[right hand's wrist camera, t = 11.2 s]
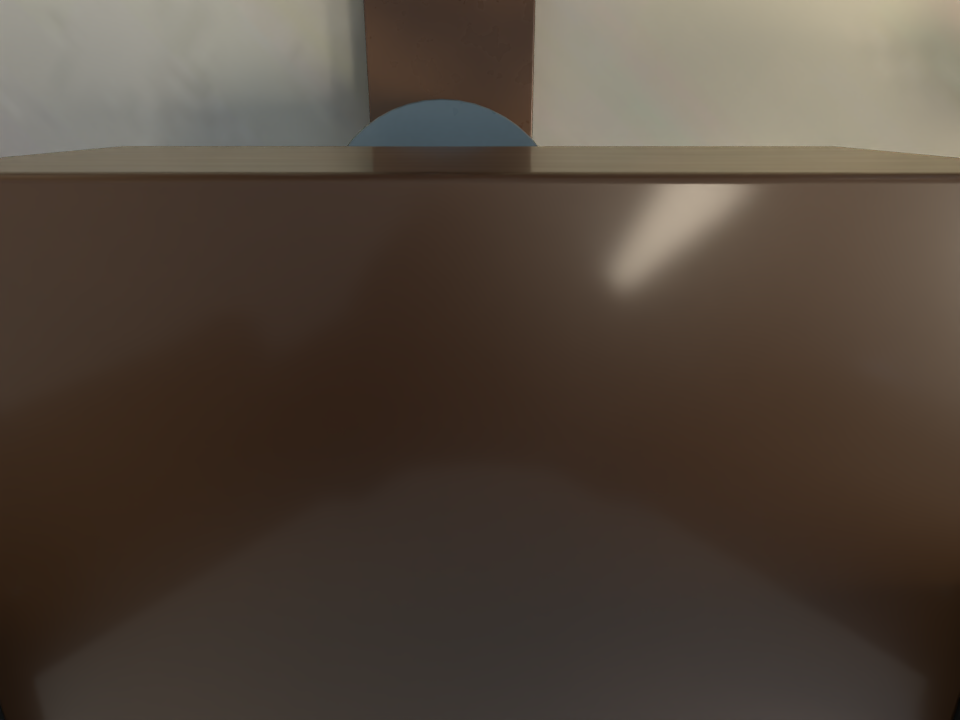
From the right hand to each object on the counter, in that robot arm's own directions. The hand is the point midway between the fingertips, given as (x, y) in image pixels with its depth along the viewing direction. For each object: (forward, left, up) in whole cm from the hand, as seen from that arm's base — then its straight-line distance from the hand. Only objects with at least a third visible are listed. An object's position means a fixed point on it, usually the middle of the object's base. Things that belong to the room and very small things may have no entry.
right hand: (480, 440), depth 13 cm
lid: (0, 0, +1) cm, 1 cm away
